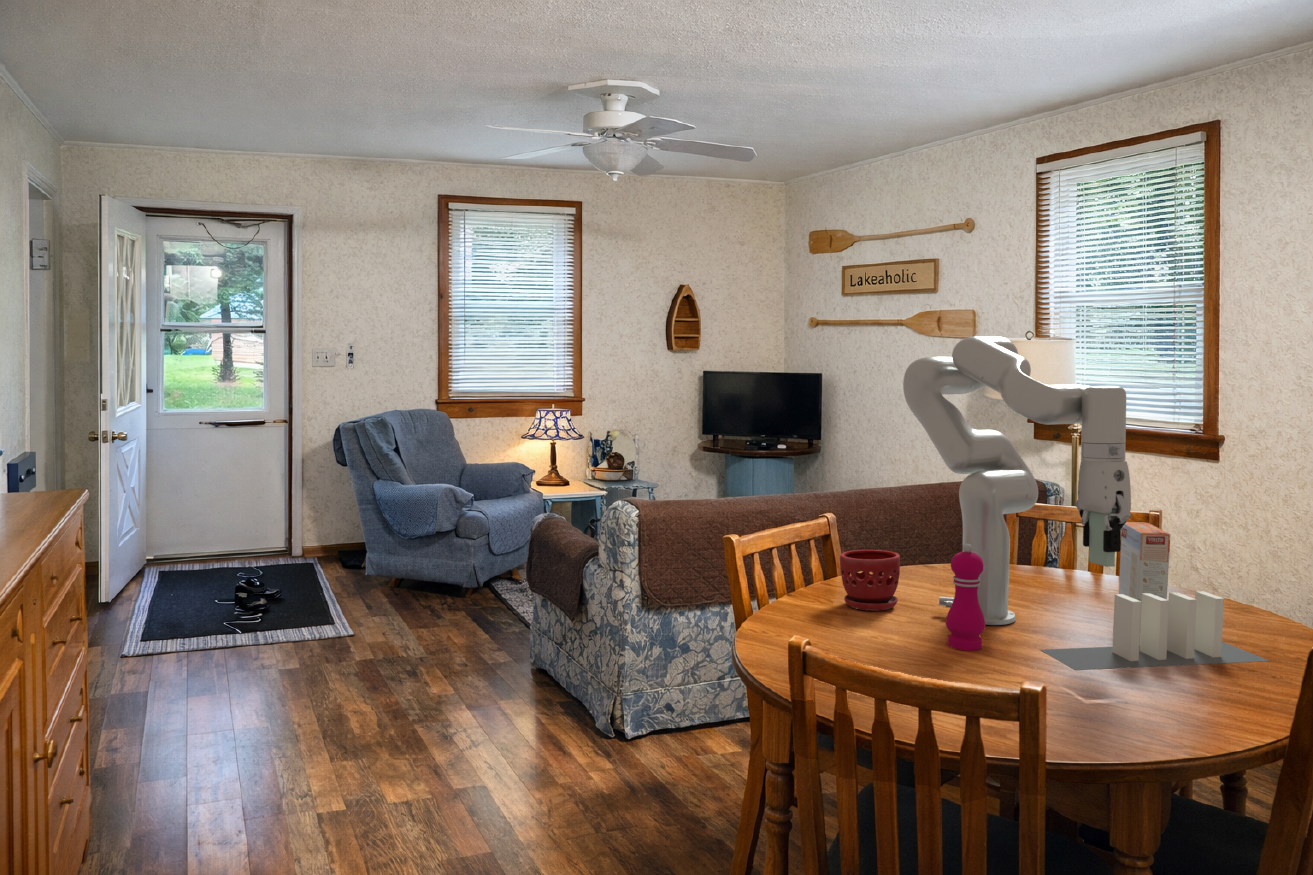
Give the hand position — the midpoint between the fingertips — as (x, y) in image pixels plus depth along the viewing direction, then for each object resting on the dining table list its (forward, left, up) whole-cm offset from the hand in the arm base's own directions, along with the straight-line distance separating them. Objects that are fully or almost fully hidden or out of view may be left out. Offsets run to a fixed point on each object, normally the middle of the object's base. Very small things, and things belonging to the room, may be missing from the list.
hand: (1101, 547), depth 183 cm
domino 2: (+9, -1, -19) cm, 22 cm away
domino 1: (+4, -3, -19) cm, 20 cm away
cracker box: (+13, +21, -20) cm, 32 cm away
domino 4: (+20, +2, -19) cm, 28 cm away
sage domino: (0, 0, -3) cm, 3 cm away
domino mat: (+9, -1, -20) cm, 22 cm away
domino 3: (+14, +1, -19) cm, 24 cm away
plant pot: (-42, +26, -20) cm, 53 cm away
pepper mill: (-24, -1, -20) cm, 31 cm away
